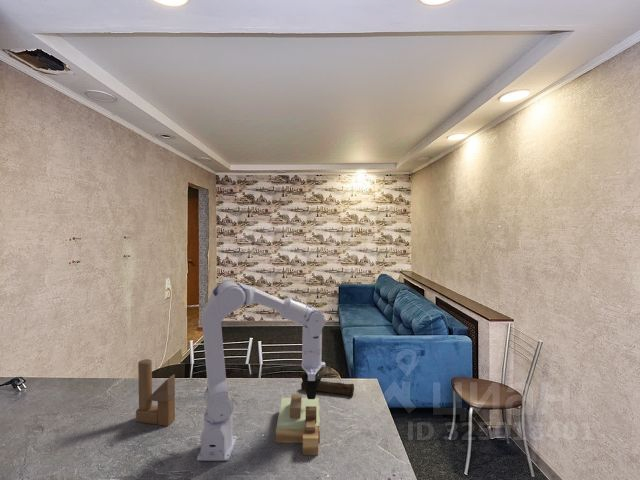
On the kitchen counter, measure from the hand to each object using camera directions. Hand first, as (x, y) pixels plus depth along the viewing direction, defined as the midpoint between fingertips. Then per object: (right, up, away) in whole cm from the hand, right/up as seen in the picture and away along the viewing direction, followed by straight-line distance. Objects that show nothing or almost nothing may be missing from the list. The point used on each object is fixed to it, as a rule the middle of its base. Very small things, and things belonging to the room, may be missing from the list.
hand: (311, 393), depth 103 cm
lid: (-4, -6, 0) cm, 7 cm away
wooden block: (-47, -9, +1) cm, 48 cm away
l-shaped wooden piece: (0, -5, -8) cm, 9 cm away
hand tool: (+5, -9, +20) cm, 22 cm away
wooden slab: (-4, -10, -3) cm, 10 cm away
